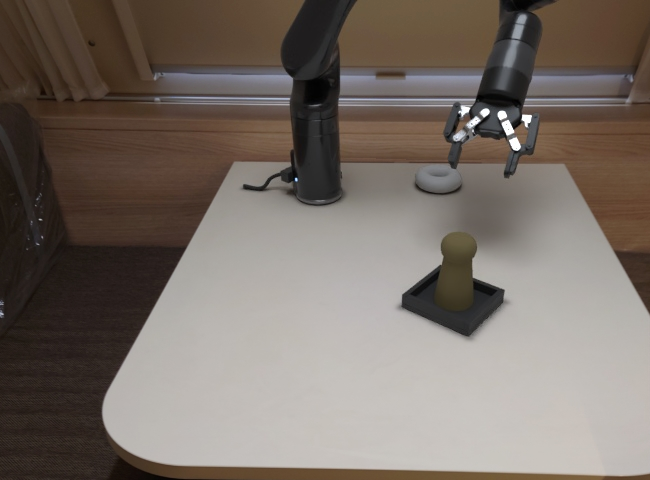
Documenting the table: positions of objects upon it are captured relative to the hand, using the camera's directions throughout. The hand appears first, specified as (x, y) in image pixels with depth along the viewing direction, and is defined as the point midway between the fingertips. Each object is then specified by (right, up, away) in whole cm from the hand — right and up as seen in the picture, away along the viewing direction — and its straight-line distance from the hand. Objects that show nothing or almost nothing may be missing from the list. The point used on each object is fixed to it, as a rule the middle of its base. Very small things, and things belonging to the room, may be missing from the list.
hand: (479, 171), depth 90 cm
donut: (-2, +4, +34) cm, 34 cm away
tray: (-4, -21, -2) cm, 21 cm away
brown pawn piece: (-4, -20, -2) cm, 21 cm away
